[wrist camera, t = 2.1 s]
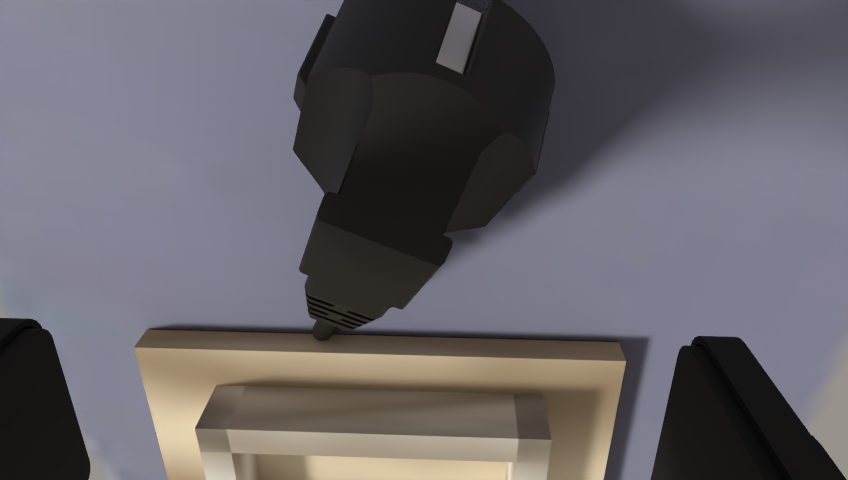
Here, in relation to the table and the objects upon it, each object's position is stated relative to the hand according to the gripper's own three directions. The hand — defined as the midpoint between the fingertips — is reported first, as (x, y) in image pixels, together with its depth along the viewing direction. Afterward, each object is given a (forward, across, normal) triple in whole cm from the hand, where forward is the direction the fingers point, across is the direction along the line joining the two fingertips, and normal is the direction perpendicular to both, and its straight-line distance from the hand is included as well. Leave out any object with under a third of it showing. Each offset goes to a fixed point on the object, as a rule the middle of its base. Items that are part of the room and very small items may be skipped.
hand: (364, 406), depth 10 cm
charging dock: (+11, +1, +14) cm, 17 cm away
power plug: (+10, +1, 0) cm, 10 cm away
